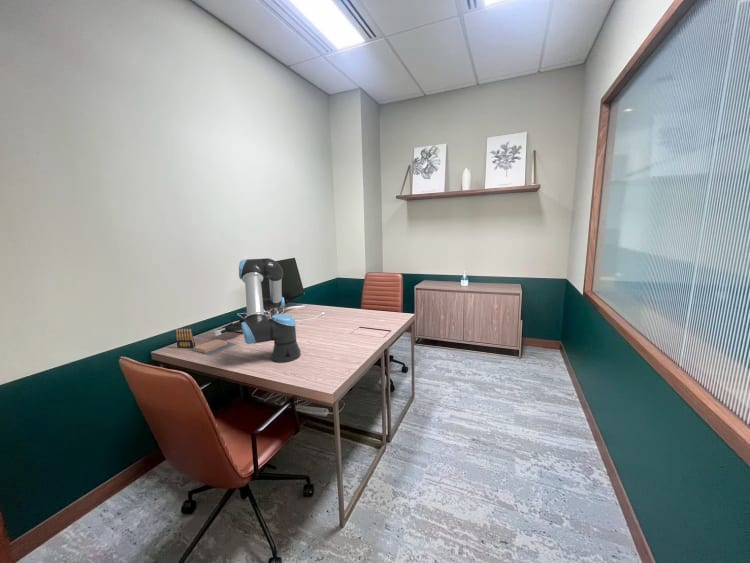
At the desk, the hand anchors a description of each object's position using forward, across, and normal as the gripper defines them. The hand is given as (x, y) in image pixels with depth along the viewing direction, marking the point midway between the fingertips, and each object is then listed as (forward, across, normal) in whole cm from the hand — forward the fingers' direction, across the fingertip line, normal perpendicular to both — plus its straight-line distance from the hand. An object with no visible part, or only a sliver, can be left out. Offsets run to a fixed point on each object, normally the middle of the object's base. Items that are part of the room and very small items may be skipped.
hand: (215, 333), depth 178 cm
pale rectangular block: (-3, 0, -6) cm, 7 cm away
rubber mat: (+2, 0, -8) cm, 8 cm away
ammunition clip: (+10, +15, -8) cm, 19 cm away
